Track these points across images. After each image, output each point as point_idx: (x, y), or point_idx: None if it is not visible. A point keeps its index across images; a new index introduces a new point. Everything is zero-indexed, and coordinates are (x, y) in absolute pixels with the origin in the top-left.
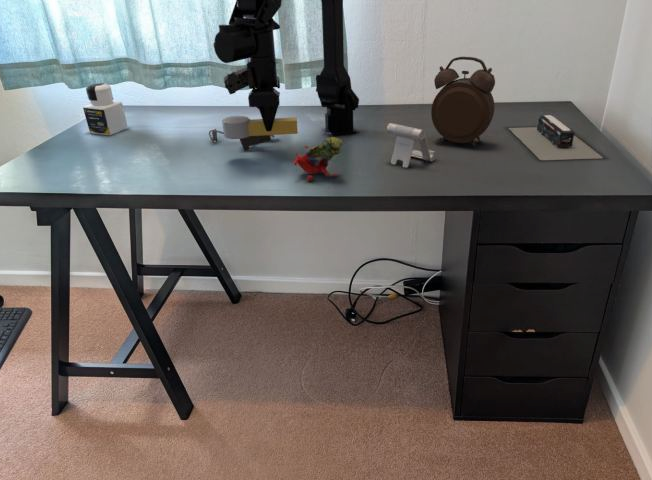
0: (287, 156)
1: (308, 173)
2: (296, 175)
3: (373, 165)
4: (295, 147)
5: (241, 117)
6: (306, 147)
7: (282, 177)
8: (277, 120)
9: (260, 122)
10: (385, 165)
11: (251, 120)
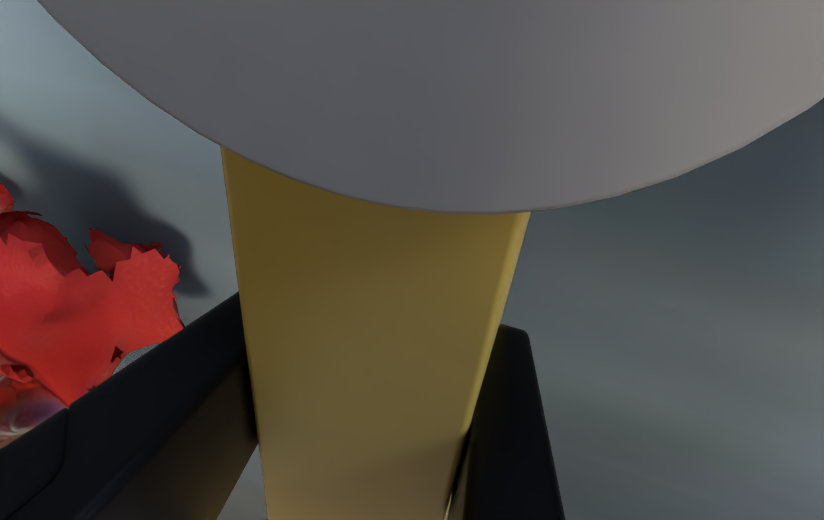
0: (564, 213)
1: (24, 218)
2: (103, 145)
3: (262, 479)
4: (800, 340)
5: (599, 11)
6: (2, 367)
7: (50, 41)
8: (305, 500)
9: (243, 312)
10: (258, 503)
11: (409, 214)
